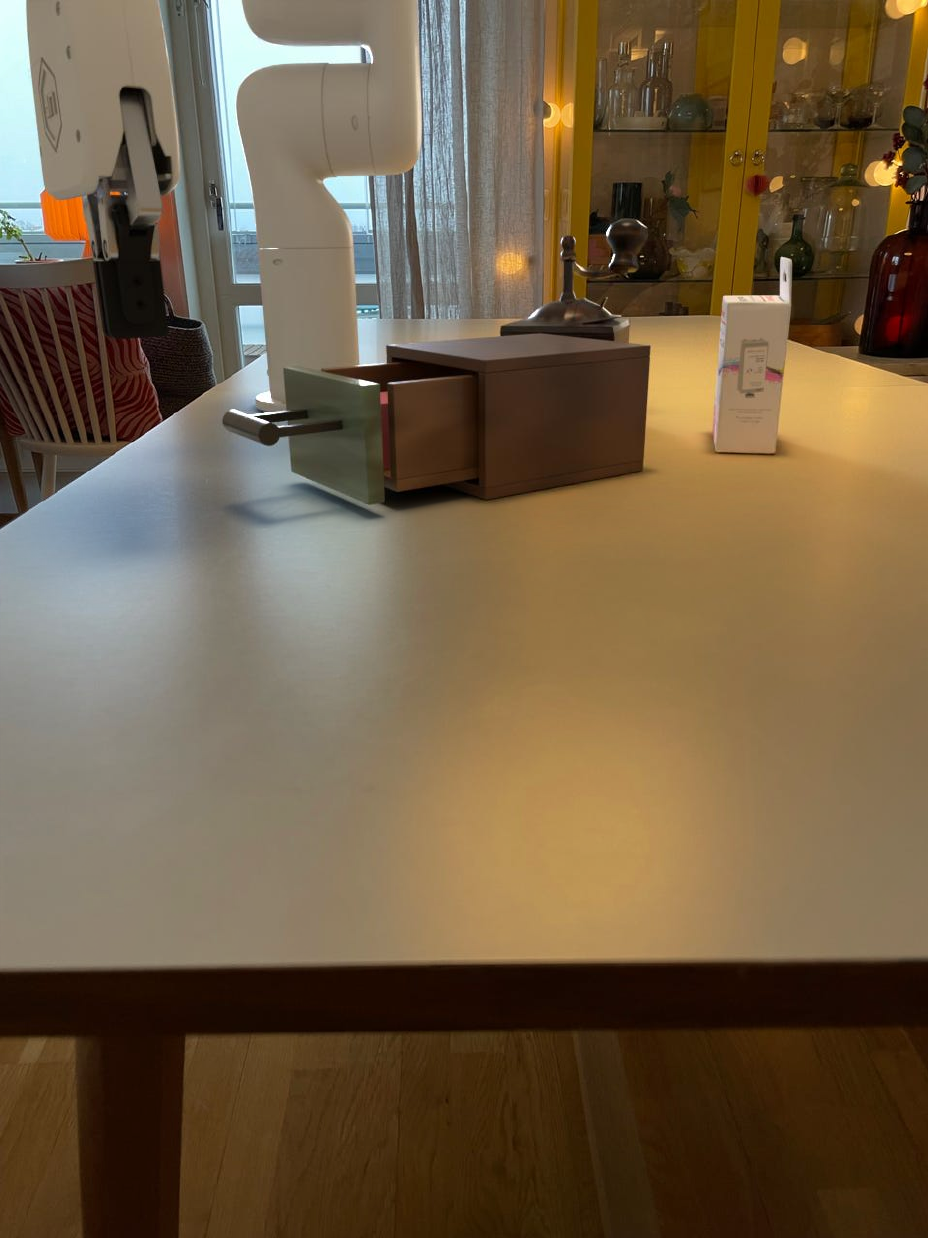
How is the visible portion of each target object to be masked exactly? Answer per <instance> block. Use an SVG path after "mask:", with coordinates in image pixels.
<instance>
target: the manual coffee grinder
mask: <svg viewBox="0 0 928 1238" xmlns="http://www.w3.org/2000/svg"><path fill="white" fill-rule="evenodd" d="M648 237H649V231H648V227H647V226H646V225H644V224H643V223H642V222H641V221H640V220H637V219H634V218H628V217H627V218H620V219H618V220H616V221H614V222H612V223H611V224H610V225H609V227H608V229H607V231H606V239H605V240H606V243H607V244H608V245H609V247H610V248H611V251H612V254H613V255H612V257H611V258H612V259H611V261H610V262H609V264H608V268H605V269H592V268H586V267H583V266H581V265H579V264H578V263H576V262H577V252H575V247H576V243H577V241H576V238H575V236H573V235H571V234H566V235H564V236H563V237H562V238H561V241H560V247H561V249H562V251H561V252H560V260H559V261H560V262H561V263H562V265H563V267H562V276H563V277H562V282H563V283H562V293H561V295H560V296H559V297H560V298H559V300H554V301H549V302H548V303H545V304H544V305H542V306H540V307H539V308H536V310H535V311H534V312H533V313H531V315H530V316H528V317H527V318H524V319H519V320H516V321H512V322H508V323H506V324H502V325H500V327H499V328H500V330H499V336H511V335H525V334H538V333H542V334H551V335H560V336H569V337H579V338H588V339H597V340H606V341H615V342H625V343H630V329H631V318H630V317H622V315H620V314H613V313H611V312H610V311H608V310H607V309H606V308H605V306H606V303H607V301H608V297H605V298H604V299H603V300H602V302H601V304H598V303H596V302H594V301H591V300H589V299H587V298H586V297H580V298H577V297H576V294H575V292H574V275H575V276H577V277H581V278H584V279H590V280H602V279H603V280H604V279H607V278H611V277H614V276H619V277H620V278H624V276H625V275H627V274H629V273H636V271H638V270H639V269H640V266H639V264H638V255H639V254H640V252H641V250H642V248H644V246H645V244H646V243H647V241H648Z"/></svg>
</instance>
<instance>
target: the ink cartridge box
mask: <svg viewBox="0 0 928 1238" xmlns="http://www.w3.org/2000/svg"><path fill="white" fill-rule="evenodd" d="M779 261H780V262H779V265H780V266H779V295H777V294H775V295H771V294H770V295H769V294H768V295H763V294H762V295H723V296H722V303H721V310H720V311H721V312H720V313H721V314H720V315H721V316H720V326H719V327H720V328H719V329H720V330H719V343H718V357H717V368H716V381H715V394H714V404H713V405H714V407H713V417H712V429H711V431H712V432H711V433H712V438H713V444H714V451H715V453H738V454H768V455H769V454H770V455H771V454H775V453H776V450H777V443H778V433H779V422H780V415H781V404H782V403H781V402H782V395H783V386H784V378H785V377H784V375H785V367H786V359H787V351H788V342H789V341H788V340H789V331H790V321H791V311H792V283H793V282H792V281H793V261H792V259H791V258H788V257H785V256H784V257H783V256H781V257H780V260H779Z"/></svg>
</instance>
